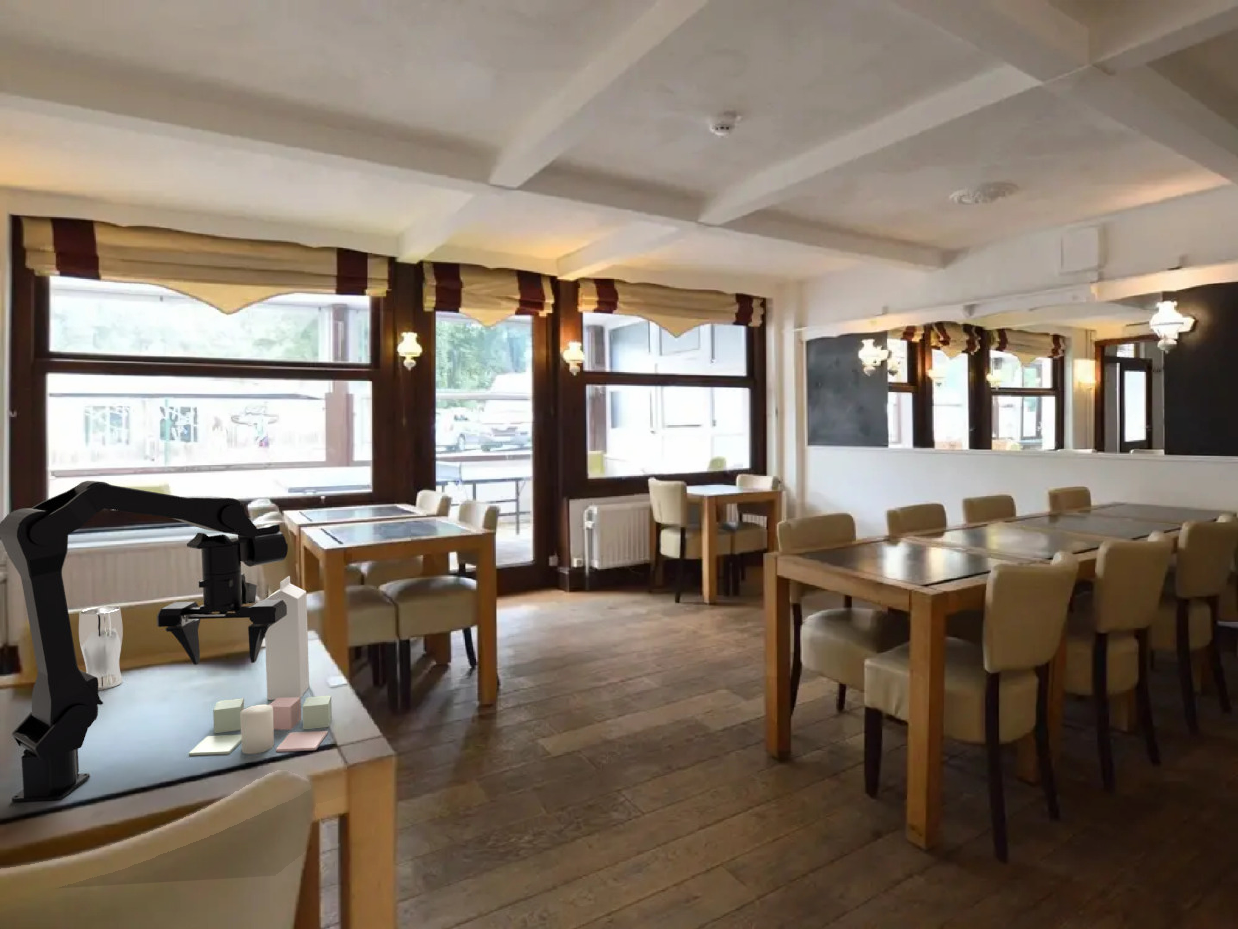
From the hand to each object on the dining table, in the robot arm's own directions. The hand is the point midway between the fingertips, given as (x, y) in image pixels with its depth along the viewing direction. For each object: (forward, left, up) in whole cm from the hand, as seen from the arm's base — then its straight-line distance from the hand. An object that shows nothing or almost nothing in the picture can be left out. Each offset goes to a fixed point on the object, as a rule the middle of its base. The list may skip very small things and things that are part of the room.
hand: (225, 663), depth 121 cm
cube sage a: (0, -15, -11) cm, 18 cm away
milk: (+15, -5, -11) cm, 19 cm away
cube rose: (0, -9, -11) cm, 14 cm away
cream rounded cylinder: (-8, -8, -11) cm, 16 cm away
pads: (-7, -8, -11) cm, 16 cm away
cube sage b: (0, 0, -11) cm, 11 cm away
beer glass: (+23, +33, -11) cm, 42 cm away
